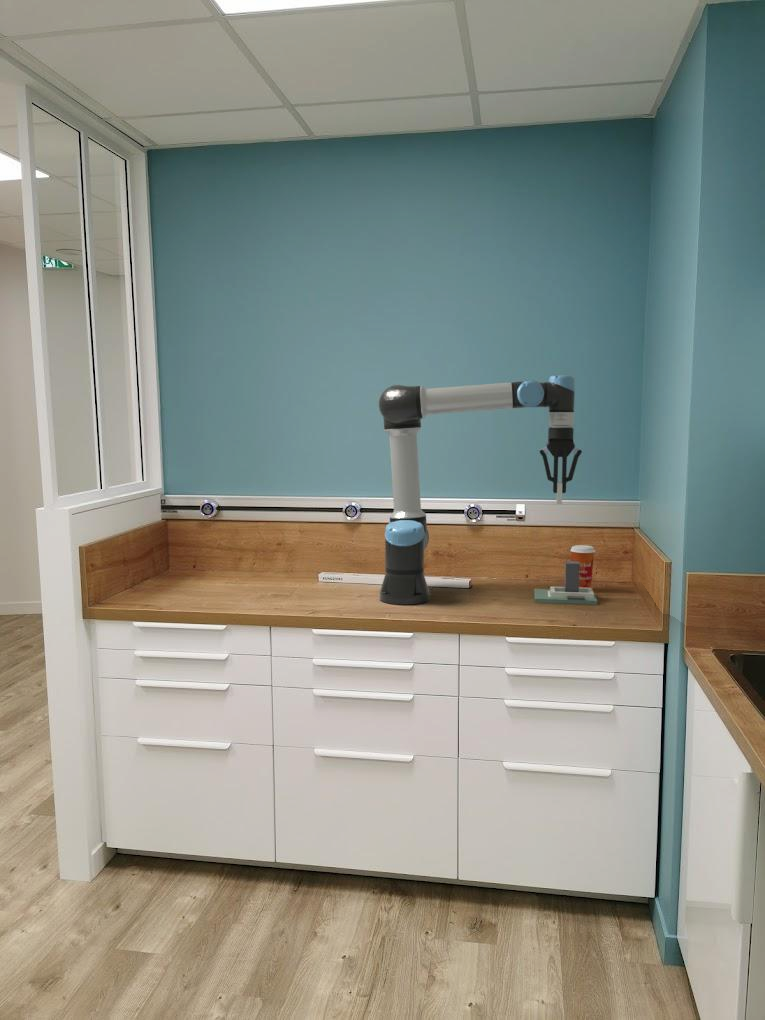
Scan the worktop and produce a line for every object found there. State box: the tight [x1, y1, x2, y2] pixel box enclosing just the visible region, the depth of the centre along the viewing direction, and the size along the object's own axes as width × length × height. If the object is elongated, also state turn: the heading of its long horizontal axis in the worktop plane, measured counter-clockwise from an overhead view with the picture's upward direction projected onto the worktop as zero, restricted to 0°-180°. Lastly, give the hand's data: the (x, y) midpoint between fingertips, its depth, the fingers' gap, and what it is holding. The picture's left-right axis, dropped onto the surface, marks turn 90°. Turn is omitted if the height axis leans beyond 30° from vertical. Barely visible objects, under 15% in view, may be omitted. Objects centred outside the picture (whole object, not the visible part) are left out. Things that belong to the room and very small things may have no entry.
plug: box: [564, 560, 580, 592], centre depth 248 cm, size 4×5×10 cm
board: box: [533, 586, 598, 606], centre depth 248 cm, size 18×14×3 cm
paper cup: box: [569, 544, 597, 588], centre depth 259 cm, size 8×8×14 cm
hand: (559, 503), depth 251 cm, fingers closed
